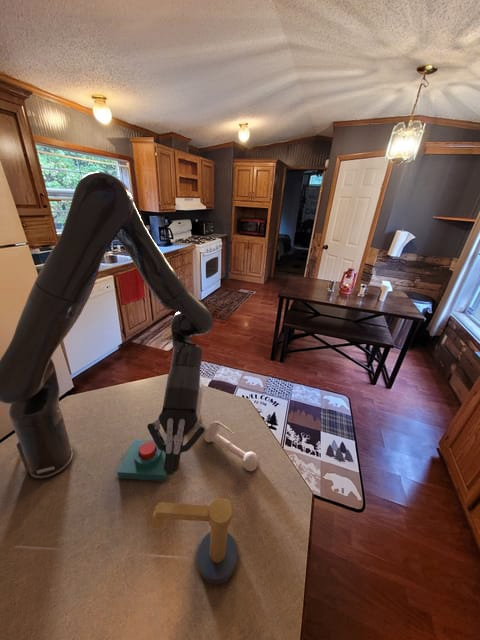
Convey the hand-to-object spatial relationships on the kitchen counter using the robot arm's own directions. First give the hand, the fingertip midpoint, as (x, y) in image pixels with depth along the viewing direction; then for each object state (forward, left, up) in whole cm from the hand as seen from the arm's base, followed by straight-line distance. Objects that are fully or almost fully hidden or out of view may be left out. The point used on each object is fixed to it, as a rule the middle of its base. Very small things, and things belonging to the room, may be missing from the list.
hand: (170, 473), depth 52 cm
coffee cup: (-2, +29, -14) cm, 32 cm away
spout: (+6, -7, -3) cm, 10 cm away
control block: (-10, +13, -14) cm, 22 cm away
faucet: (+12, +18, -14) cm, 26 cm away
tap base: (+11, -7, -14) cm, 19 cm away
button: (-10, +13, -11) cm, 20 cm away
